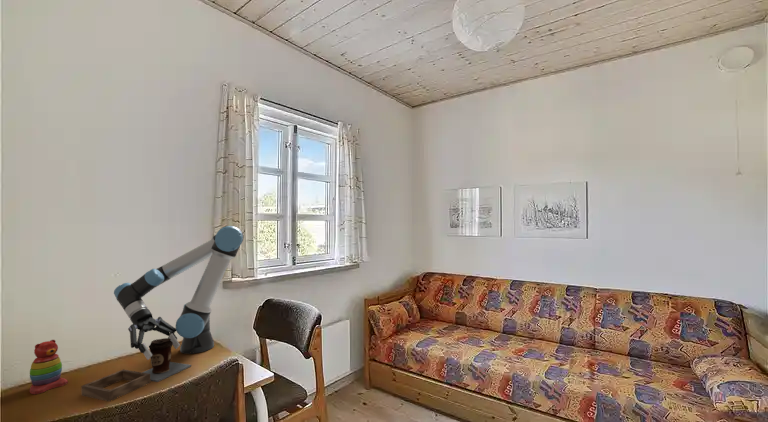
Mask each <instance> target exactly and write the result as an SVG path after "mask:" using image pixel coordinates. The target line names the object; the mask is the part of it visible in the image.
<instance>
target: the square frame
mask: <svg viewBox="0 0 768 422" xmlns="http://www.w3.org/2000/svg"><path fill="white" fill-rule="evenodd" d="M142 372H143V371H142ZM142 372H140V371H135V370H129V369H122V370H121V369H120V370H119V371H116V372H114V373H111V374H109V375H106V376H103V377H101V378H98V379H96V380H93V381H91V382H88V383H86V384H84V385H81V386H80V387H81V388H80V389H81V391H80V392H81V393H80V394H81V396H82V397H85V398H91V399H95V400H100V401H104V402H105V401H106V402H111V400H112V401H115V400H117V399H118V398H120V397H119V396H121V397H122V395H123V396H125V395H127V394H129V393H131V392H133V391H136V390H137V389H139V388H140V389H141V388H142V387H144V386H146V384H147V385H148V384H150V383H151V381H150V374H148V373H142ZM120 381H127V382H126V383H123V384H120V385H119V386H116V387H113V388H112V389H110V388H109V389H108V388H106V387H108V386H110V385H114V384H115V383H117V382H120ZM117 397H118V398H117Z"/></svg>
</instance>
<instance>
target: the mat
mask: <svg viewBox="0 0 768 422" xmlns="http://www.w3.org/2000/svg"><path fill="white" fill-rule="evenodd" d="M191 367H192V364H189V363H181V362H175V361H174V362H173V361H170V364H169V368H170V370H169V371H167V372H164V373H152V370H153V367H152V368H150V369H147V370H145V371H142V373H148V374H150V382H155V383H159V382H161V381H162V380H163V381H164V380H165V379H168V378H169V377H171V376H173V375H175V374H178V373H179V372H182V371H185V370H186V369H188V368H191Z"/></svg>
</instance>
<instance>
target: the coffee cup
mask: <svg viewBox="0 0 768 422" xmlns="http://www.w3.org/2000/svg"><path fill="white" fill-rule="evenodd" d="M172 346H173V342H172V341H171V339H170V338H168V337H167V338H166V337H164V338H159V339H154V340H152V341H151V342H150V344H149V346H148V349H149V350H150V352H151V353H152V357H151V358H150V364H151V366H152V368H153V370H152V373H164V372H167V371H169V370H170V368H169V364H170V362H171V357H172Z"/></svg>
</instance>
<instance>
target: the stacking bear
mask: <svg viewBox="0 0 768 422" xmlns="http://www.w3.org/2000/svg"><path fill="white" fill-rule="evenodd" d="M33 350H34V352H33V353H34V355H35V357H36V358H34V360H33V361H32V362H31V364H30V370H29V379H30V381H31V384H32V385H31V386H30V387H29V393H30V394H31V395H39V394H42V393H44V392H47V391H48V390H52V389H54V388H59V387H63V386H65V385H67V384H68V382H69V381H68V380H67V379H66V378H64V377H61V374H62V371H63V370H62V369H63V364H62V363H63V362H62V361H61V357H60V356H59V354H58V350H59V346H58V344H57V343H56V340H55V339H51V340H48V341H43V342H40V343H36V344H35V345H34V349H33Z"/></svg>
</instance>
